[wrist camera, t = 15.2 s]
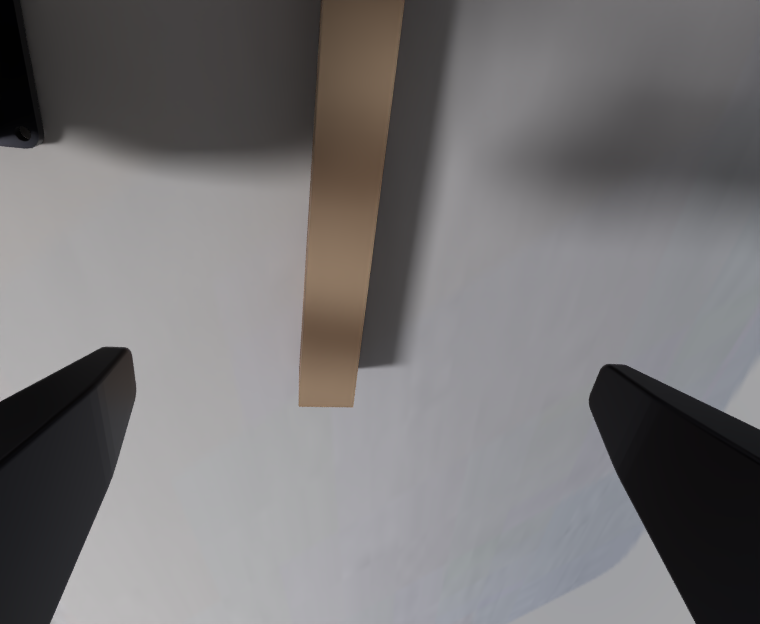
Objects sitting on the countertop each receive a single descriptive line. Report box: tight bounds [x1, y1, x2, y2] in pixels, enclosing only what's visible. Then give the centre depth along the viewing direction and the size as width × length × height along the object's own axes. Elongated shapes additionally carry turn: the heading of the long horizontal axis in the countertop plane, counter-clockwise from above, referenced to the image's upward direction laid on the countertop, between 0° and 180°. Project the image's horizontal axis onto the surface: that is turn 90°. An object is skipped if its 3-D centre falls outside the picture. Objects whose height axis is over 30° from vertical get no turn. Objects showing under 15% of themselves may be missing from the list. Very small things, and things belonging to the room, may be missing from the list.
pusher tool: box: [299, 0, 405, 407], centre depth 18 cm, size 21×7×4 cm, turn 173°
